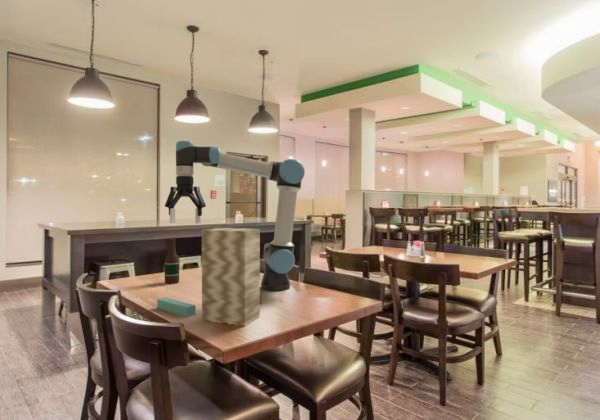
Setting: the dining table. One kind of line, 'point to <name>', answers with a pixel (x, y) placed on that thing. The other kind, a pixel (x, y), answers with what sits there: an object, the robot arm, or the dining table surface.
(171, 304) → the bar
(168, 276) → the beer bottle
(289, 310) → the dining table surface
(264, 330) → the dining table surface
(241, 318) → the tall wood-grain block
